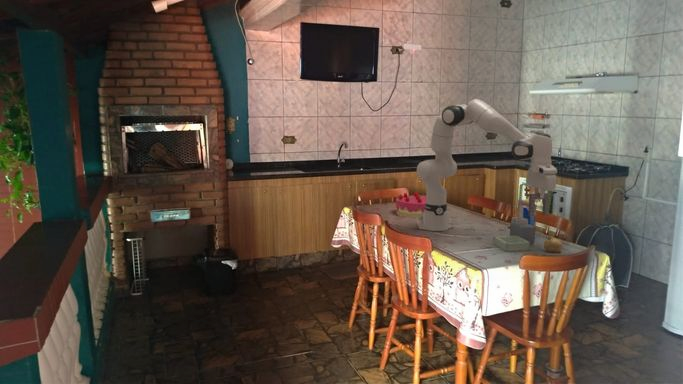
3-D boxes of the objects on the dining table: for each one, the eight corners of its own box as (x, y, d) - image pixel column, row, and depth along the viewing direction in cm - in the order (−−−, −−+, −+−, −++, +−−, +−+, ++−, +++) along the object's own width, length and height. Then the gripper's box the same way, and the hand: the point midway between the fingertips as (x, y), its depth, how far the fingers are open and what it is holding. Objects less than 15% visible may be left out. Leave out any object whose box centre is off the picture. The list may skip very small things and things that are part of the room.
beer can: (513, 235, 270) (515, 205, 268) (525, 233, 274) (527, 204, 271) (525, 238, 263) (527, 208, 260) (537, 236, 266) (539, 207, 264)
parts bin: (493, 244, 252) (494, 236, 252) (516, 243, 254) (516, 235, 254) (506, 251, 240) (506, 243, 239) (529, 250, 242) (530, 242, 241)
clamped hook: (516, 224, 259) (518, 199, 257) (520, 224, 260) (521, 199, 257) (531, 231, 246) (532, 204, 243) (534, 231, 246) (536, 204, 244)
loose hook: (528, 215, 241) (529, 193, 239) (545, 214, 243) (547, 192, 241) (530, 216, 239) (531, 194, 238) (548, 215, 241) (549, 193, 239)
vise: (507, 238, 264) (508, 216, 262) (521, 237, 265) (522, 216, 263) (520, 245, 250) (521, 222, 248) (535, 244, 252) (536, 222, 250)
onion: (557, 249, 244) (558, 234, 243) (565, 253, 237) (566, 239, 235) (540, 249, 244) (541, 234, 243) (548, 254, 236) (549, 239, 235)
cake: (394, 209, 339) (394, 190, 337) (436, 209, 338) (437, 191, 335) (396, 218, 311) (397, 198, 309) (442, 218, 310) (443, 198, 308)
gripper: (523, 165, 247) (521, 193, 249) (546, 170, 227) (544, 201, 229) (535, 165, 248) (533, 193, 250) (559, 170, 228) (557, 200, 230)
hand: (539, 197), depth 239 cm, fingers closed on loose hook, 2 cm apart
